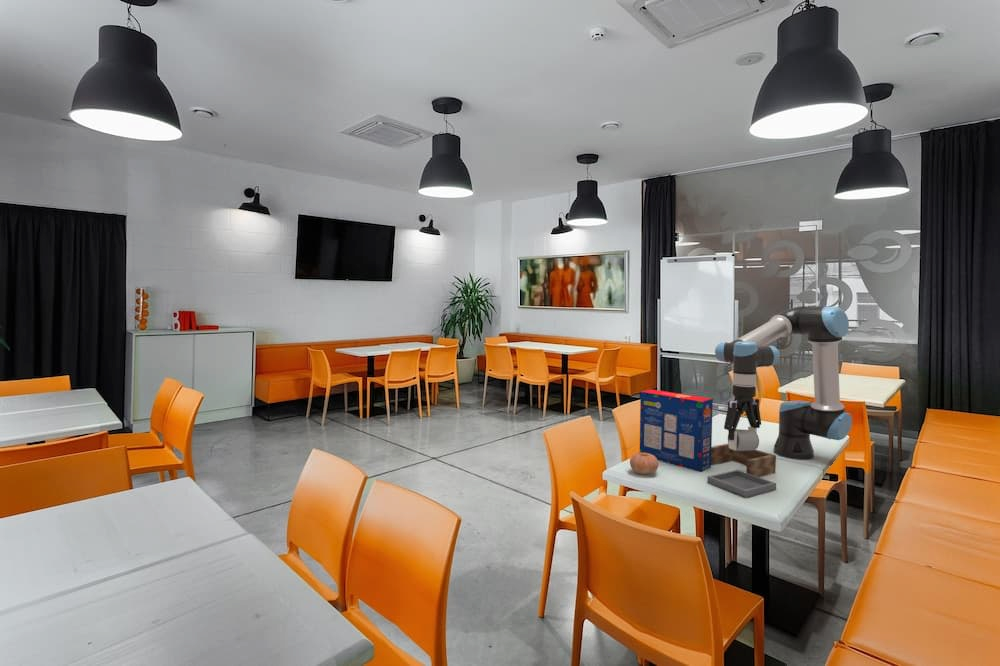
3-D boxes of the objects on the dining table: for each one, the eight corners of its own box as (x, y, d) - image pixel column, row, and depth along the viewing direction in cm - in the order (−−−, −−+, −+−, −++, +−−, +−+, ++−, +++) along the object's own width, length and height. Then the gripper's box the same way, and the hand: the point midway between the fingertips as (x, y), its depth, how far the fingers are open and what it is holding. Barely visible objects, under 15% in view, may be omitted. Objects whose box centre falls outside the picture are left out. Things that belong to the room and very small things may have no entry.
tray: (736, 475, 194) (737, 469, 194) (776, 490, 180) (776, 483, 180) (707, 483, 187) (707, 476, 187) (745, 498, 173) (746, 491, 172)
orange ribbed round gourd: (624, 470, 201) (624, 450, 200) (646, 467, 205) (647, 447, 204) (640, 479, 191) (641, 458, 190) (664, 475, 195) (664, 455, 194)
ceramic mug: (760, 452, 179) (761, 431, 178) (738, 453, 178) (739, 431, 177) (742, 444, 189) (743, 424, 189) (722, 445, 188) (722, 425, 188)
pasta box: (710, 467, 204) (712, 398, 202) (700, 472, 199) (702, 401, 197) (650, 451, 225) (651, 389, 223) (639, 455, 220) (640, 391, 218)
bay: (731, 459, 214) (732, 442, 214) (775, 473, 197) (776, 455, 196) (707, 464, 208) (707, 447, 207) (749, 479, 190) (750, 461, 190)
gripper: (755, 381, 189) (753, 440, 191) (713, 385, 179) (712, 448, 181) (774, 384, 182) (771, 445, 184) (732, 389, 172) (730, 454, 174)
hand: (742, 446), depth 182 cm, fingers closed on ceramic mug, 9 cm apart
